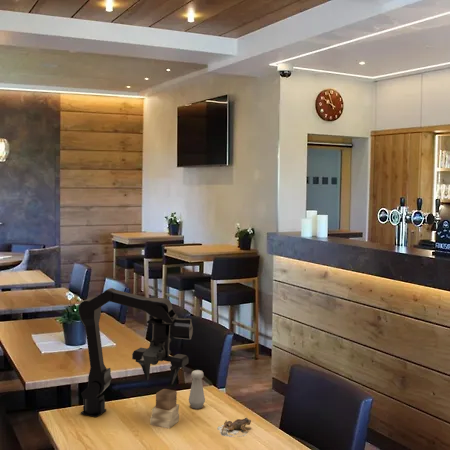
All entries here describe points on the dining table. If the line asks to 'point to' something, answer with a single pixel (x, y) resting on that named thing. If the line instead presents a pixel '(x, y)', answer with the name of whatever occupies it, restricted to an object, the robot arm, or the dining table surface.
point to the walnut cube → (166, 399)
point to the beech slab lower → (164, 422)
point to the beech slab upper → (165, 413)
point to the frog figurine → (234, 427)
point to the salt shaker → (197, 390)
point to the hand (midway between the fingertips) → (159, 382)
